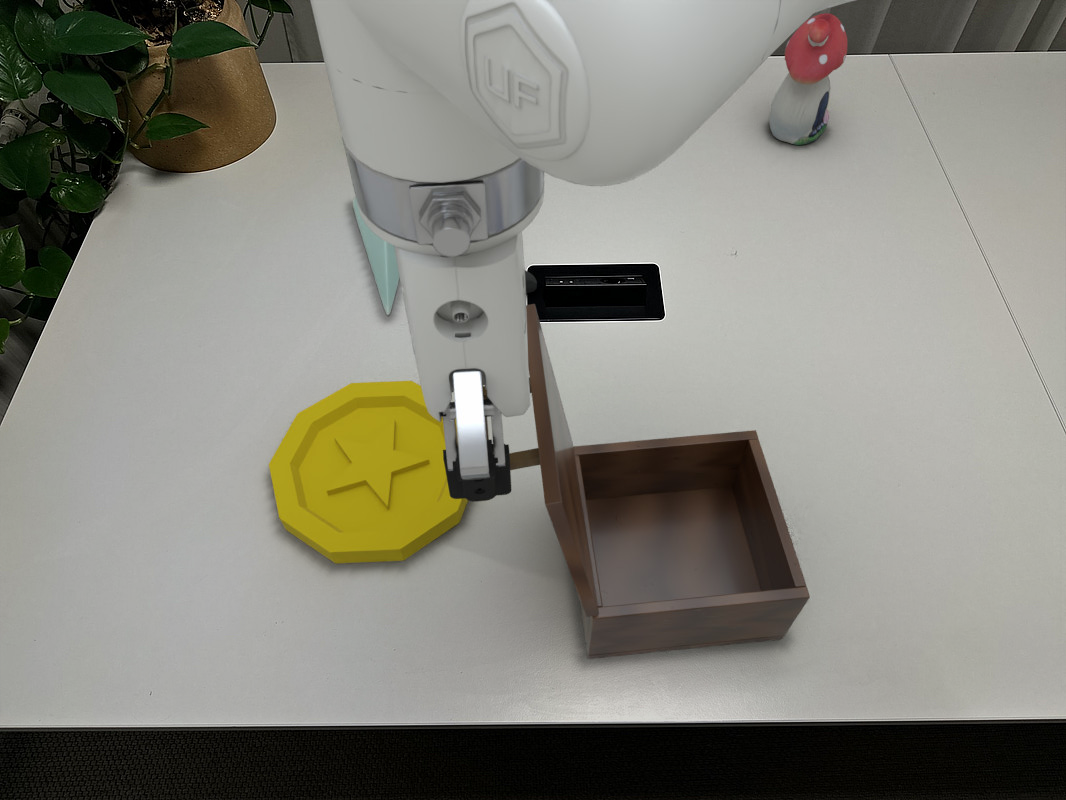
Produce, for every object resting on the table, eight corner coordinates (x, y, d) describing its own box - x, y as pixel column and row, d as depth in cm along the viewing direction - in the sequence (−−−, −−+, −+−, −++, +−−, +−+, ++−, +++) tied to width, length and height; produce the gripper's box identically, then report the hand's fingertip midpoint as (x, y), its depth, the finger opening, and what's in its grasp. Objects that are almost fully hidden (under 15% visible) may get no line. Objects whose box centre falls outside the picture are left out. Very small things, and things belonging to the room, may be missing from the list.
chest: (736, 482, 67) (756, 429, 60) (782, 639, 59) (810, 597, 52) (565, 498, 66) (567, 446, 60) (587, 659, 58) (592, 619, 52)
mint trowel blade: (461, 302, 79) (433, 168, 87) (403, 292, 76) (379, 153, 83) (426, 343, 85) (402, 214, 93) (370, 335, 81) (350, 202, 89)
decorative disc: (442, 371, 74) (440, 357, 73) (503, 527, 64) (502, 515, 63) (264, 422, 71) (257, 409, 70) (299, 595, 61) (292, 585, 60)
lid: (534, 303, 47) (443, 322, 48) (561, 502, 39) (451, 522, 39) (572, 442, 59) (499, 455, 60) (599, 615, 51) (514, 629, 52)
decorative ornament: (794, 158, 93) (830, 35, 81) (748, 135, 96) (777, 12, 84) (838, 124, 97) (878, 2, 85) (793, 103, 100) (826, -18, 88)
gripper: (572, 318, 26) (560, 551, 39) (524, 39, 36) (528, 301, 50) (339, 336, 25) (409, 565, 39) (358, 48, 36) (408, 309, 49)
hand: (475, 417), depth 44 cm, fingers open, 9 cm apart
